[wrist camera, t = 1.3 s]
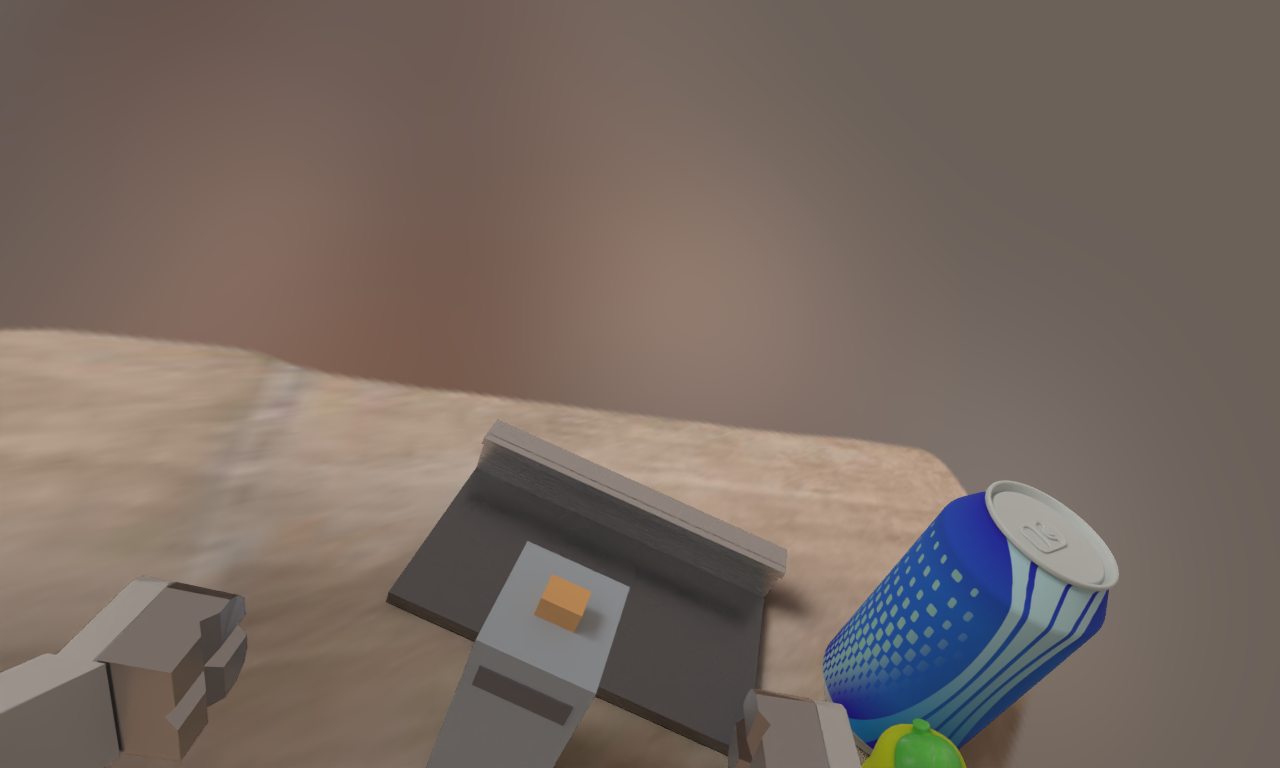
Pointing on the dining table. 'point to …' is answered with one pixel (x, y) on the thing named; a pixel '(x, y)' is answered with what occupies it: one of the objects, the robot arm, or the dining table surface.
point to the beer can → (971, 616)
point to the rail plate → (619, 549)
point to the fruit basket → (914, 748)
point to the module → (532, 666)
